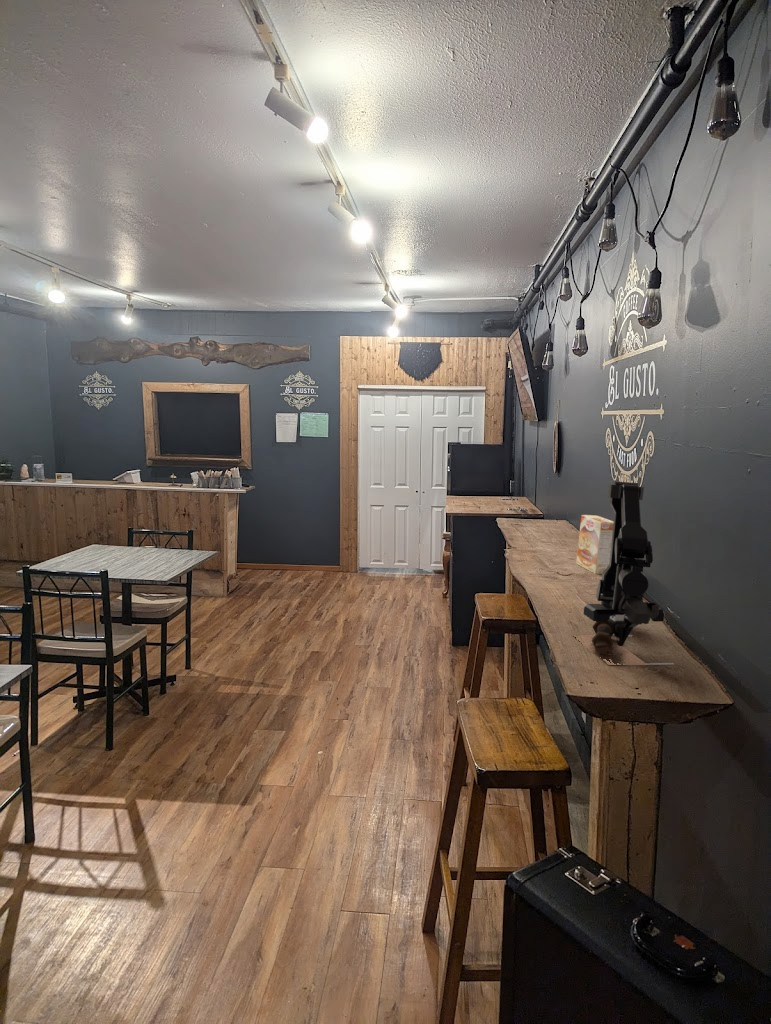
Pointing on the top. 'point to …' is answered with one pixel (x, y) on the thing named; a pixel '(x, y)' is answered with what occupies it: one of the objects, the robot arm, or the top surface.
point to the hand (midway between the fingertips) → (620, 645)
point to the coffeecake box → (594, 543)
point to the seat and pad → (617, 653)
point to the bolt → (602, 636)
